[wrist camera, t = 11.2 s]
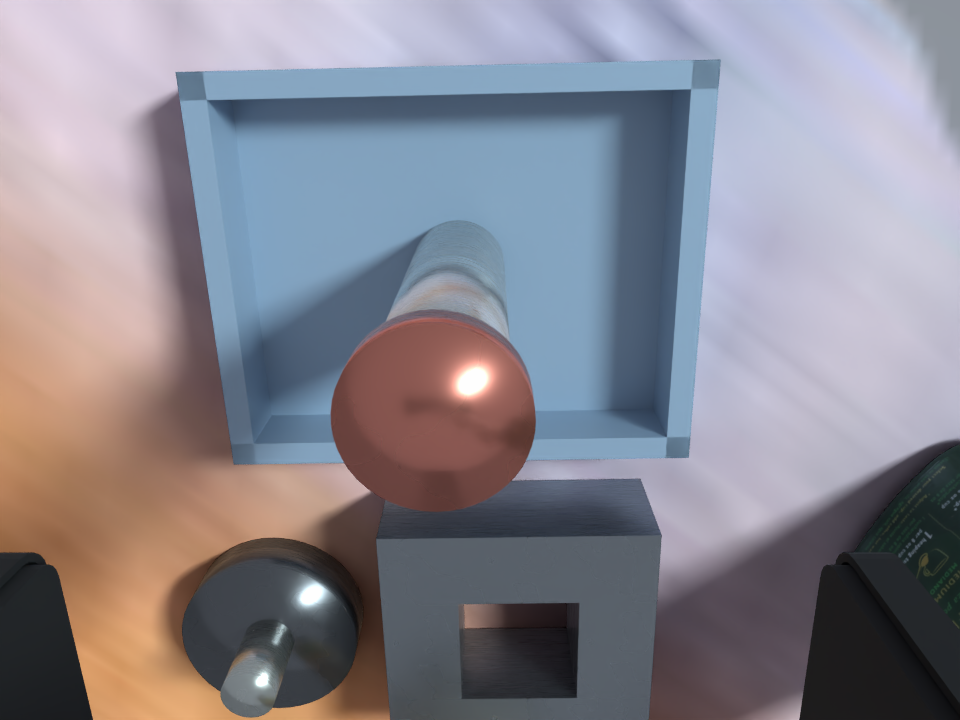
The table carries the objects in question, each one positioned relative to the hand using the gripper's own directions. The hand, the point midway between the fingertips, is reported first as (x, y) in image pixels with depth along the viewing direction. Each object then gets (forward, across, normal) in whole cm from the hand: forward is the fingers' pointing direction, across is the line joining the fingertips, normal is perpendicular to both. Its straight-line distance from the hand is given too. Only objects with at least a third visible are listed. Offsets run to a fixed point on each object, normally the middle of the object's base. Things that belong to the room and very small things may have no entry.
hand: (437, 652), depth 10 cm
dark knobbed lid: (+20, +9, +14) cm, 26 cm away
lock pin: (+19, +1, -1) cm, 19 cm away
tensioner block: (+20, -1, +13) cm, 24 cm away
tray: (+20, +1, -1) cm, 20 cm away
